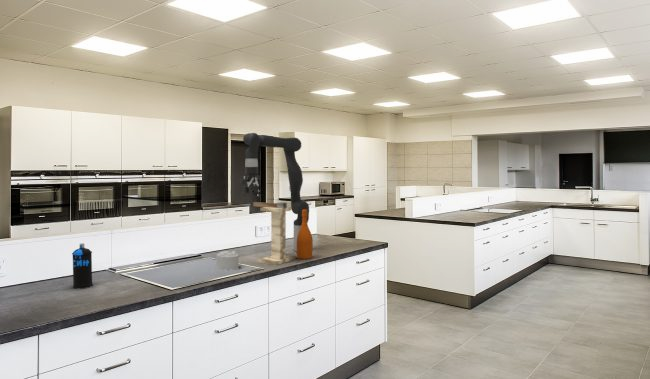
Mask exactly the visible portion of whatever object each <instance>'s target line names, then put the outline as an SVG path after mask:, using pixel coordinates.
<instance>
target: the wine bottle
mask: <svg viewBox="0 0 650 379" xmlns="http://www.w3.org/2000/svg"><path fill="white" fill-rule="evenodd" d="M302 217H303V219H302V225H301V228H300V231H299V233H298V236H297V251H296V257H297V259H299V260H309V259H312V258H313V244H314V243H313V240H314V239H313V235H312V233H311V230H310V228H309V225H308V223H307V210H306V209H303V210H302Z"/></svg>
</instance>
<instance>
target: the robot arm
mask: <svg viewBox="0 0 650 379" xmlns="http://www.w3.org/2000/svg"><path fill="white" fill-rule="evenodd" d="M242 141H243V142H244V144H245V145H248V148H246V150H245V163H244V165H245V166H244V168H245V169H244V170H245V171H244V172H245V175H243V176H242V187H244V191H245V194H250V185H251V184H253V186H254V190H253V191H254V193H256V194H258V193H259V186H261V175H258V174H259V162H258V150H259V147H266V148H279V149H283V152H284V157H285V160H286V169H287V177H288V183H289V191H290V192H289V193H290V207H291V211H292V213H293V214H295V215H297V217H296V219H294V220H293V251H294V252H297V236H298V233H299V231H300V228H301V225H302V219H303V217H302V210H303V209H306V210H307V224H308V222H309V219H310V218H309V217H310V205H309V203H308V202H307V201H305V200H302V198H301V190H302V186H303V183H304V182H303V181H304V178H303V171H302V168H301V167H300V164H299V163H298V162H297V161H298V160H296V155H295V154H296V153H295V152H299V151H300V150H301V148H302V141H301V140H300V139H299V138H298V137H278V136H274V135H273V136H272V135H265V134H258V133H256V132H251V133H250V132H249V133H246V134H244V135H243V138H242Z"/></svg>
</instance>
